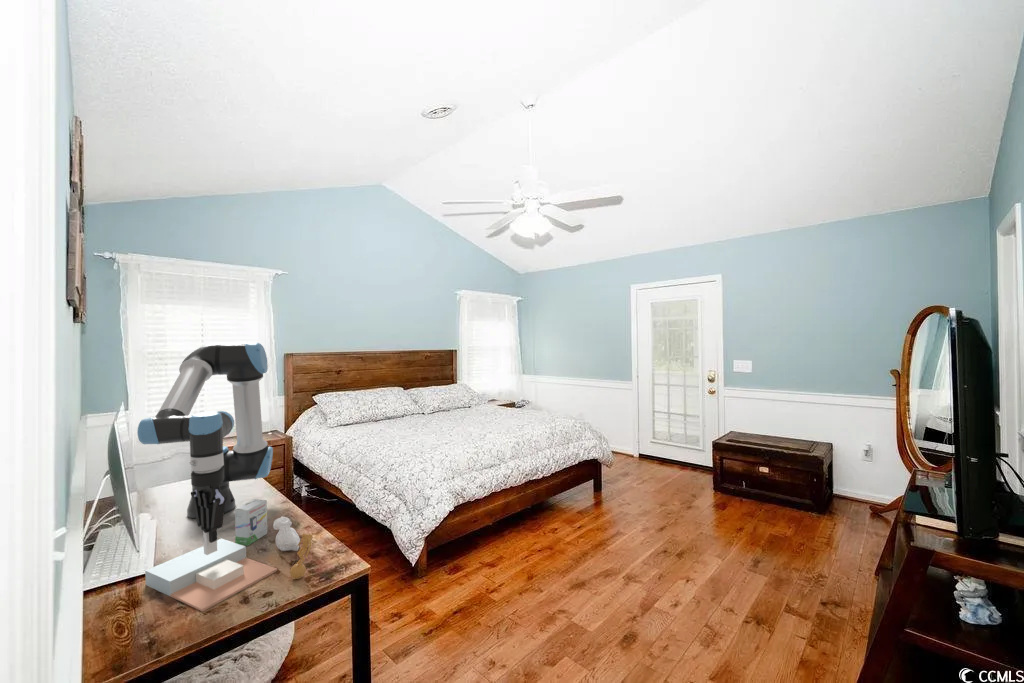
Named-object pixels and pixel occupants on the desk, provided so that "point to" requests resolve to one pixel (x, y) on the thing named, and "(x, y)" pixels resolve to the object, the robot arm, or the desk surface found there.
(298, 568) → the figurine
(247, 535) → the ink box
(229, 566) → the coaster
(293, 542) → the white tied bag
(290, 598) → the desk surface
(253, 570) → the mat
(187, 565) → the plate
